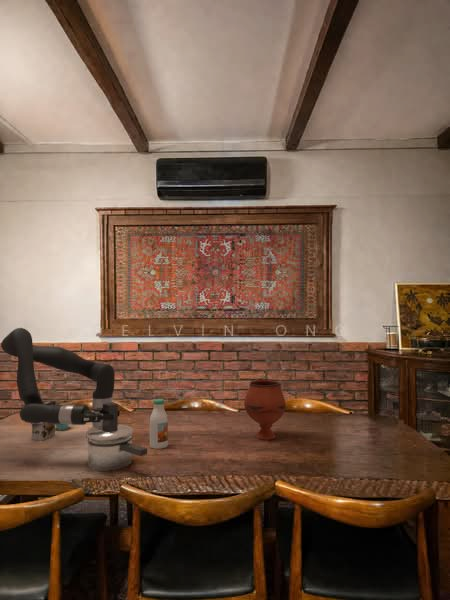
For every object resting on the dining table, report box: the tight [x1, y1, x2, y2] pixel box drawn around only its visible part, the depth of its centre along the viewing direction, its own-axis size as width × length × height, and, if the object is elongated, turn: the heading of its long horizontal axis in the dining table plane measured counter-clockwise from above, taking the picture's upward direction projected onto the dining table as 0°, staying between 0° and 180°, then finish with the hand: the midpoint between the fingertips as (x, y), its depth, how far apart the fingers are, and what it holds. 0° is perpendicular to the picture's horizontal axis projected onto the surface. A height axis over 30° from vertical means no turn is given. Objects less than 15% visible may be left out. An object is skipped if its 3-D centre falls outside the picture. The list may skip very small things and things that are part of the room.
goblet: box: [243, 379, 286, 441], centre depth 193 cm, size 19×19×25 cm
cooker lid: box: [86, 401, 134, 441], centre depth 161 cm, size 17×17×12 cm
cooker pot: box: [87, 434, 148, 472], centre depth 157 cm, size 16×28×10 cm, turn 52°
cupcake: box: [55, 424, 69, 431], centre depth 209 cm, size 9×8×12 cm
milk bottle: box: [149, 398, 169, 450], centre depth 181 cm, size 8×8×20 cm
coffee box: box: [31, 400, 56, 441], centre depth 195 cm, size 9×6×16 cm
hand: (116, 415), depth 161 cm, fingers closed on cooker lid, 5 cm apart
